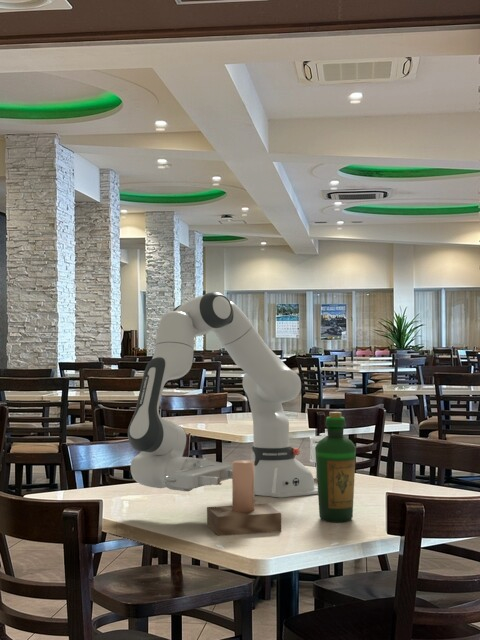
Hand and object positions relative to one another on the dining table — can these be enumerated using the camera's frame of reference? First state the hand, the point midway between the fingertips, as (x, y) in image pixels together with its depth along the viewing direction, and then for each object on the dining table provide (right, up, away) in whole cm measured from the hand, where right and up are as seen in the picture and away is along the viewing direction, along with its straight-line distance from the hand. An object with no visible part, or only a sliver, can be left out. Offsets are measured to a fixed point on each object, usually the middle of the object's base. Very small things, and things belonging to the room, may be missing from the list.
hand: (228, 478), depth 206 cm
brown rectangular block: (+4, -12, -3) cm, 13 cm away
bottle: (+28, -12, +7) cm, 31 cm away
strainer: (+30, -14, +72) cm, 79 cm away
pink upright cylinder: (+4, -7, -3) cm, 9 cm away
